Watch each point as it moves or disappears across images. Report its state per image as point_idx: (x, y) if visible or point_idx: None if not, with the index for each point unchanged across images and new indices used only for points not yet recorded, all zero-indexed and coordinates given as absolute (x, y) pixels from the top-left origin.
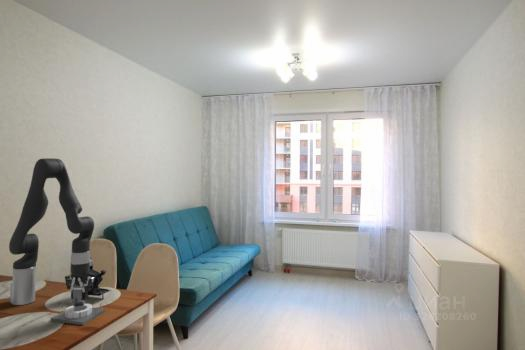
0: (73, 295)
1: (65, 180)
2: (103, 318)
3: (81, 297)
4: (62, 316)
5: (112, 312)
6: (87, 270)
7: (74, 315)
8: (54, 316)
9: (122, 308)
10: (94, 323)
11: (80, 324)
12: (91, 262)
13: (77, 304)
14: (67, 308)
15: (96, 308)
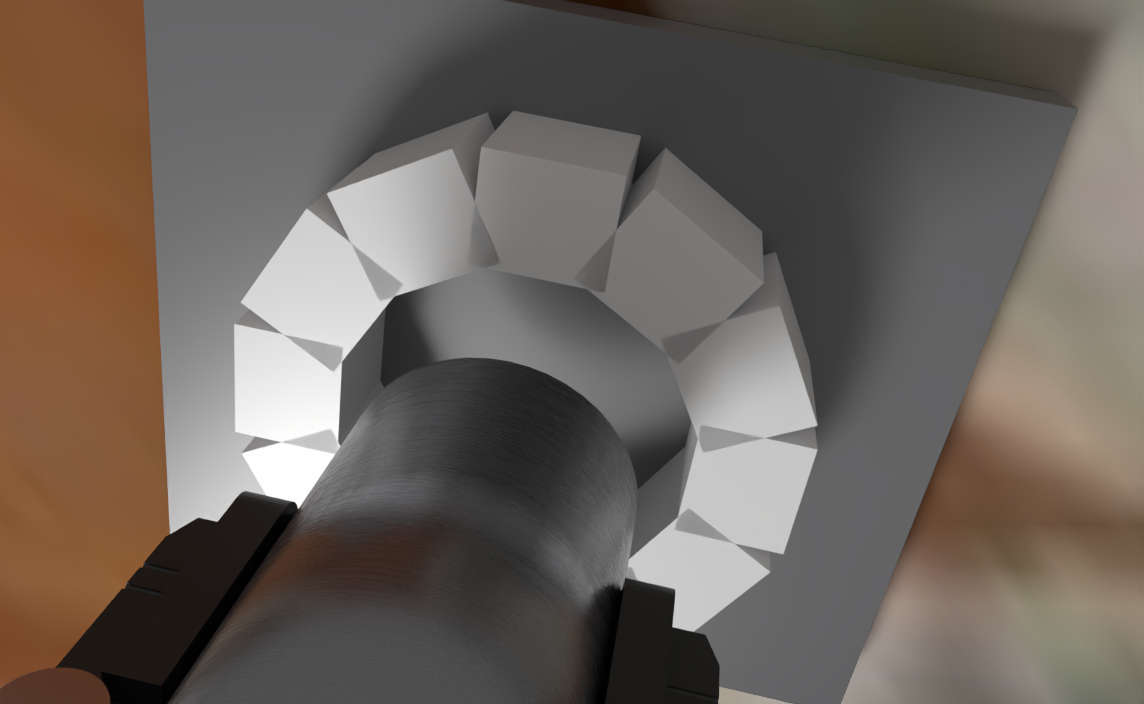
0: (507, 593)
1: None
2: (18, 266)
3: (270, 552)
4: (814, 213)
5: (53, 501)
6: None
7: (446, 139)
8: (1019, 205)
9: (14, 635)
10: (12, 33)
11: None
12: None
13: (418, 388)
14: (783, 417)
15: None
